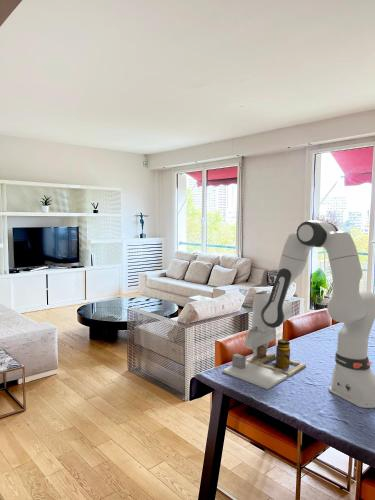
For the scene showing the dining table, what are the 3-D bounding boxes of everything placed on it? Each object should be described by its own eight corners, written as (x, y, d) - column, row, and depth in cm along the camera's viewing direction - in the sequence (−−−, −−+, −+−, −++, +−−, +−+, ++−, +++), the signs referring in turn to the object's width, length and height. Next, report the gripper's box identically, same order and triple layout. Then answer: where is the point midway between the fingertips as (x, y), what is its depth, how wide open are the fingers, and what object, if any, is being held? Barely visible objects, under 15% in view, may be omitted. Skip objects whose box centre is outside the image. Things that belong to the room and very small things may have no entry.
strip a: (305, 367, 174) (306, 353, 173) (289, 376, 163) (289, 362, 162) (263, 353, 189) (263, 341, 188) (245, 361, 178) (246, 348, 178)
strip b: (286, 378, 161) (287, 363, 161) (267, 389, 151) (268, 374, 150) (243, 362, 177) (243, 349, 176) (222, 372, 166) (223, 358, 165)
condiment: (292, 369, 171) (293, 343, 170) (274, 370, 170) (275, 343, 169) (286, 363, 178) (287, 338, 177) (268, 363, 177) (269, 338, 176)
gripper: (254, 331, 170) (253, 361, 172) (278, 322, 185) (277, 350, 186) (242, 327, 175) (241, 357, 176) (267, 319, 189) (266, 346, 191)
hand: (260, 353), depth 181 cm, fingers open, 6 cm apart
